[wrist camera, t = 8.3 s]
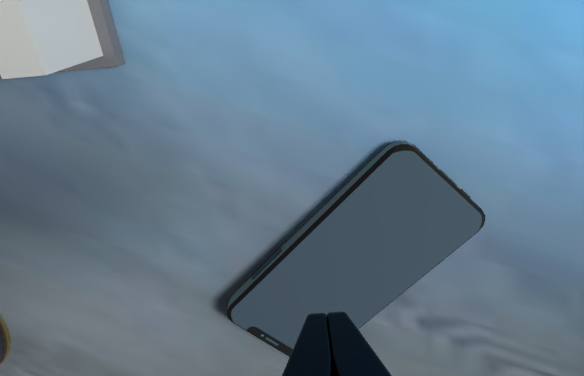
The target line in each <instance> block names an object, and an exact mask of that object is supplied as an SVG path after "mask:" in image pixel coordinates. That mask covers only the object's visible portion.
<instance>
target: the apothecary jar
mask: <svg viewBox="0 0 584 376" xmlns="http://www.w3.org/2000/svg"><path fill="white" fill-rule="evenodd" d="M9 349H10V338H9V333H8V330H7V327H6V325H5V323H4V321H3V320H2V318H1V317H0V364H1V363H2V362H3V361H4V360H5V358H6V357H7V355H8V352H9Z"/></svg>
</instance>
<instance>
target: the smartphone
mask: <svg viewBox="0 0 584 376" xmlns="http://www.w3.org/2000/svg"><path fill="white" fill-rule="evenodd" d="M484 222H485V214H484V212H483V211H482V209H481V208H480V207H479V206H478V205H477V204H476V203H475V202H474V201H473V200H471V199H470V197H469V196H468V195H467V194H466V193H465V192H464V191H463V190H462V189H460V188H459V186H458V185H457V184H455V183H454V182H453V181H452V180H451V179H450V178H449V177H448V176H447V175H446V174H445V173H443V172H442V171H441V170H439V168H438V167H437V166H435V165H434V164H433V162H432V161H430V160H429V159H428V158H427V157H426V156H425V155H423V153H422V152H421V151H419V149H418V148H416V146H415V145H414V144H411V143H409V142H407V141H396V142H392V143H391V144H389V145H387V146H386V147H385V148H384V149H383V150H382V151H381V152H380V153H378V154H377V155H376V156H375V157H374V158H373V159H372V160H371V161H370V162H369V163H368V164H367V165H366V166H365V167H364V168H363V169H362V170H361V171H360V172H359V173H358V174H357V175H356V176H355V177H353V178H352V179H351V180H350V181H349V182H348V183H347V184H346V185H345V186H344V187H343V188H342V189H341V190H340V191H339V192H338V193H337V194H336V195H335V196H334V197H333V198H332V199H331V200H330V201H329V202H327V203H326V204H325V205H324V206H323V207H322V208H321V209H320V210H319V211H318V212H317V213H316V214H315V215H314V216H313V217H312V218H311V219H310V220H309V221H308V222H307V223H306V224H305V225H304V226H302V227H301V228H300V229H299V230H298V231H297V232H296V233H295V234H294V235H293V236H292V237H291V238H290V239H289V240H288V241H287V242H286V243H285V244H284V245H283V246H282V247H281V248H279V249H278V250H277V251H276V252H275V253H274V254H273V255H272V256H271V257H270V258H269V259H268V260H267V261H266V262H265V263H264V264H263V265H262V266H261V267H260V268H259V269H258V270H257V271H256V272H255V273H254V274H253V275H252V276H251V277H250V278H249V279H248V280H247V281H246V282H245V283H244V284H243V285H242V286H241V287H240V288H239V289H238V290H237V291H236V292H235V293H234V294H233V295H232V296H231V298H230V300H229V302H228V307H227V316H228V319H230V320H231V321H232V322H233V323H234V324H236V325H238V326H239V327H241V328H243V329H244V330H246V331H248V332H249V333H251V334H253V335H254V336H256V337H258V338H259V339H261V340H263V341H264V342H266V343H268V344H269V345H271V346H273V347H274V348H276V349H278V350H279V351H281V352H283V353H284V354H286V355H288V356H289V357H290V356H291V353H292V351H293V348H294V346H295V344H296V341H297V339H298V336H299V334H300V332H301V329H302V327H303V324H304V322H305V320H306V317H307V316H308V315H309V314H312V313H325V314H326V316H327V314H328V313H329V312H342V311H343V312H345V313H346V314H347V315H348V316H349V318H350V319H351V320H352V322H353V323H354V324H355V326H356V327H357V329H359V328H360V327H361V326H363V325H364V324H365V323H366V322H368V321H369V320H370V319H371V318H373V317H374V316H375V315H376V314H377V313H379V312H380V311H381V310H382V309H384V308H385V307H386V306H387V305H389V304H390V303H391V302H392V301H393V300H395V299H396V298H397V297H398V296H400V295H401V294H402V293H403V292H405V291H406V290H407V289H408V288H409V287H411V286H412V285H413V284H414V283H416V282H417V281H418V280H419V279H421V278H422V277H423V276H424V275H426V274H427V273H428V272H429V271H430V270H432V269H433V268H434V267H435V266H437V265H438V264H439V263H440V262H442V261H443V260H444V259H445V258H446V257H448V256H449V255H450V254H451V253H453V252H454V251H455V250H456V249H458V248H459V247H460V246H461V245H462V244H464V243H465V242H466V241H467V240H469V239H470V238H471V237H472V236H474V235H475V234H476V233H477V232H478V231H479V230H480V229H481V228H482V227H483V225H484Z"/></svg>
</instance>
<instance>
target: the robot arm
mask: <svg viewBox="0 0 584 376" xmlns="http://www.w3.org/2000/svg"><path fill="white" fill-rule="evenodd" d="M282 376H391V374H390V373H389V371H388V370H387V369H386V367H385V366H384V365H383V363H382V362H381V360H380V359H379V358H378V356H377V355H376V353H375V352H374V351H373V349H372V348H371V347H370V345H369V344H368V342H367V341H366V340H365V338H364V337H363V336H362V334H361V333H360V331H359V330H358V329H357V327H356V326H355V324H354V323H353V322H352V320H351V319H350V318H349V316H348V315H347V314H346V313H345V312H343V311H342V312H329V313H328V314H327V316H326V314H325V313H312V314H309V315H308V316H307V317H306V320H305V322H304V324H303V327H302V329H301V332H300V334H299V336H298V339H297V341H296V344H295V346H294V348H293V351H292V353H291V356H290V358H289V360H288V363H287V365H286V368H285V370H284V372H283V375H282Z"/></svg>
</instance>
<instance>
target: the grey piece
mask: <svg viewBox="0 0 584 376" xmlns="http://www.w3.org/2000/svg"><path fill="white" fill-rule="evenodd" d="M123 64H125V62H124V58H123V55H122V51H121V47H120V44H119V40H118V36H117V33H116V29H115V25H114V22H113V18H112V14H111V11H110V7H109V3H108V0H0V77H1V78H2V79H10V78H21V77H32V76H43V75H48V74H51V73H54V72H63V71H74V70H85V69H96V68H107V67H118V66H120V65H123Z"/></svg>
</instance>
